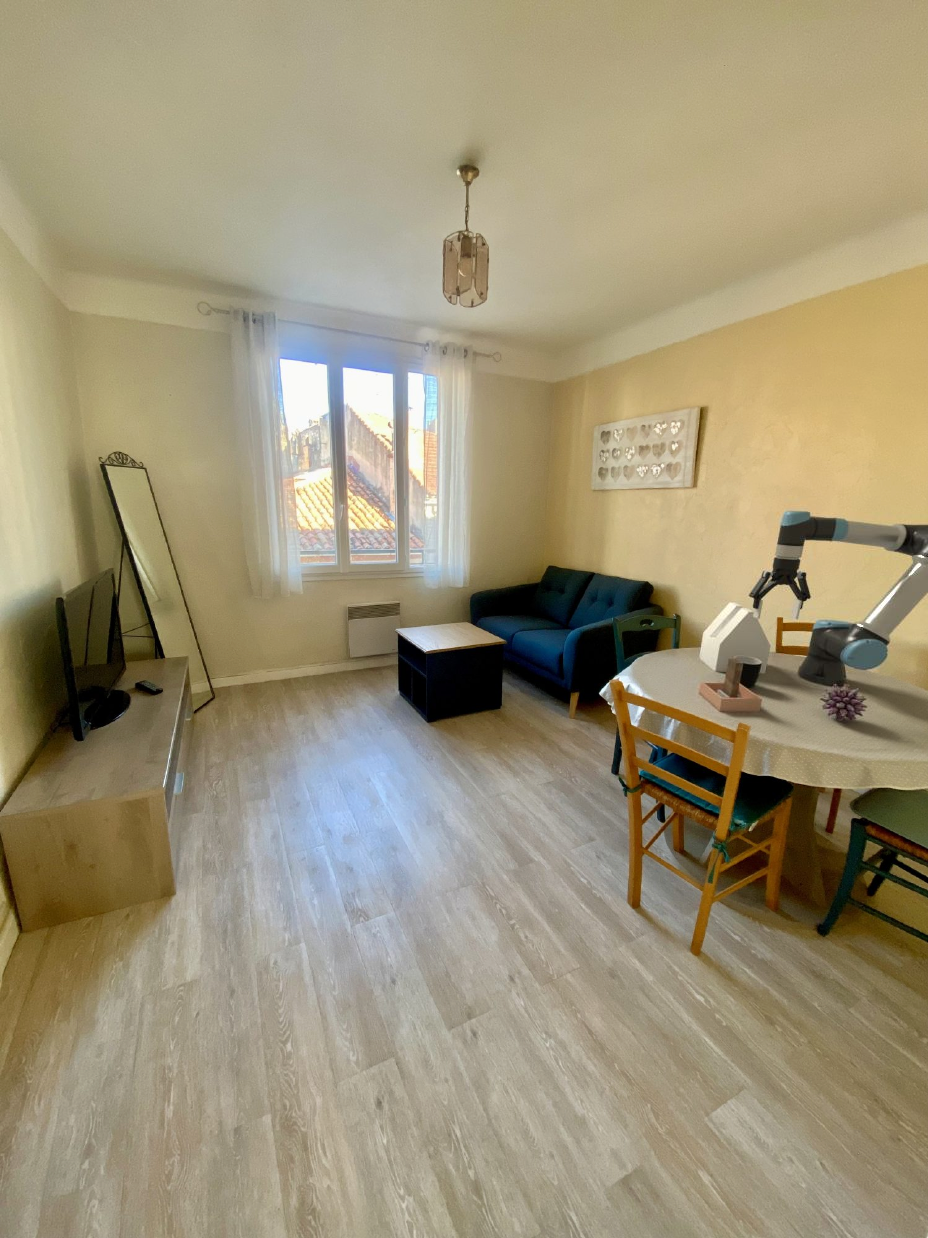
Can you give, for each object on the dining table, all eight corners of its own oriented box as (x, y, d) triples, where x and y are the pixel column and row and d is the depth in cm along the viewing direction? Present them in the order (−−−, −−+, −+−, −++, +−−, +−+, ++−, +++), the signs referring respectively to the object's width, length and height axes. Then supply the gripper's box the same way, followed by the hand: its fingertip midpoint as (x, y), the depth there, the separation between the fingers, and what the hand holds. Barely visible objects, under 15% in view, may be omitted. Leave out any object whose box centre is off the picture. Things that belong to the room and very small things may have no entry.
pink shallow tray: (736, 694, 168) (738, 682, 167) (759, 711, 156) (762, 698, 154) (698, 693, 168) (700, 682, 167) (719, 711, 155) (721, 698, 154)
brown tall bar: (728, 696, 164) (735, 658, 160) (735, 702, 159) (743, 663, 156) (721, 696, 164) (728, 658, 160) (728, 702, 159) (736, 663, 156)
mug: (761, 691, 171) (766, 665, 169) (734, 689, 172) (739, 663, 170) (746, 678, 183) (751, 653, 180) (722, 676, 184) (726, 652, 181)
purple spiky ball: (848, 731, 144) (858, 695, 140) (807, 714, 154) (815, 680, 151) (871, 725, 148) (880, 689, 145) (829, 708, 159) (838, 675, 155)
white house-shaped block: (715, 671, 189) (725, 611, 182) (699, 658, 204) (708, 601, 197) (765, 673, 188) (777, 612, 181) (745, 660, 203) (756, 603, 196)
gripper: (815, 556, 165) (802, 615, 171) (744, 555, 164) (734, 614, 170) (832, 559, 158) (817, 621, 163) (758, 558, 157) (746, 620, 163)
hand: (775, 618), depth 167 cm, fingers open, 13 cm apart
